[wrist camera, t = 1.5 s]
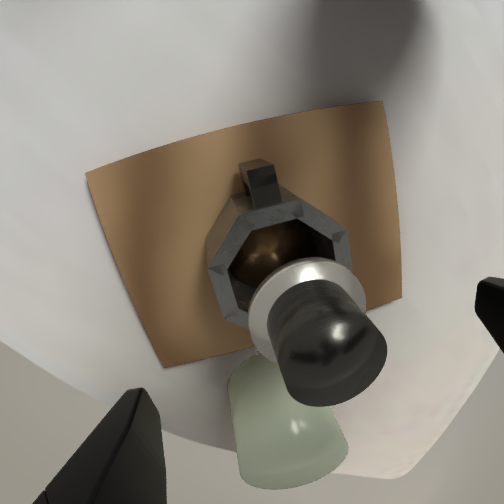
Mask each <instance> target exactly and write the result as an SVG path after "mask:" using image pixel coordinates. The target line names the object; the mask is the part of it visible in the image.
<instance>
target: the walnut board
mask: <svg viewBox="0 0 504 504" xmlns="http://www.w3.org/2000/svg"><path fill="white" fill-rule="evenodd" d="M259 158H260V159H263V160H265V161H268V162H270V163H272V164H274V167H275V171H276V176H277V180H278V184H279V185H281V186H283V187H284V188H286V189H287V190H289V191H291V192H292V193H294V194H295V195H297V196H298V197H300V198H302V199H303V200H305V201H306V202H308V203H309V204H311V205H313V206H314V207H316V208H317V209H319V210H320V211H322V212H323V213H325V214H326V215H327V216H329V217H330V218H332V219H333V220H335V221H336V222H338V223H339V224H340V225H342V226H343V227H345V228H346V229H347V230H348V238H349V246H350V254H351V263H352V272H353V275H354V276H355V277H356V278H357V279H358V280H359V282H360V283H361V285H362V287H363V289H364V293H365V297H366V311H367V310H370V309H373V308H376V307H378V306H381V305H384V304H387V303H389V302H392V301H395V300H397V299H400V298H402V273H401V246H400V229H399V215H398V204H397V194H396V184H395V176H394V168H393V160H392V153H391V147H390V140H389V134H388V128H387V123H386V117H385V112H384V107H383V102H382V101H375V102H366V103H358V104H350V105H343V106H336V107H329V108H323V109H317V110H311V111H305V112H299V113H294V114H289V115H283V116H278V117H273V118H269V119H264V120H259V121H255V122H250V123H246V124H241V125H237V126H233V127H229V128H225V129H221V130H217V131H213V132H209V133H206V134H202V135H198V136H195V137H191V138H188V139H184V140H181V141H177V142H174V143H171V144H167V145H164V146H161V147H158V148H154V149H151V150H148V151H145V152H142V153H139V154H136V155H133V156H130V157H127V158H124V159H122V160H119V161H116V162H113V163H110V164H108V165H105V166H102V167H100V168H97V169H94V170H92V171H89V172H87V173H85V175H86V179H87V182H88V185H89V188H90V191H91V195H92V198H93V201H94V204H95V207H96V210H97V213H98V216H99V218H100V221H101V224H102V227H103V230H104V233H105V235H106V238H107V241H108V243H109V246H110V249H111V251H112V254H113V256H114V259H115V262H116V264H117V267H118V269H119V272H120V274H121V276H122V279H123V281H124V284H125V286H126V288H127V291H128V293H129V295H130V298H131V300H132V302H133V305H134V307H135V309H136V311H137V314H138V316H139V318H140V320H141V322H142V324H143V327H144V329H145V331H146V333H147V335H148V337H149V339H150V341H151V343H152V345H153V347H154V349H155V351H156V353H157V355H158V357H159V359H160V361H161V363H162V365H163V367H164V368H167V367H172V366H176V365H181V364H185V363H190V362H194V361H198V360H203V359H207V358H211V357H215V356H219V355H223V354H227V353H231V352H235V351H238V350H242V349H246V348H250V347H253V346H255V345H254V343H253V341H252V338H251V334H250V330H248V329H246V328H244V327H241V326H239V325H237V324H234V323H232V322H230V321H228V320H225V319H224V318H223V315H222V312H221V309H220V306H219V303H218V300H217V297H216V294H215V290H214V287H213V284H212V281H211V278H210V275H209V272H208V269H207V249H206V236H207V234H208V233H209V231H210V229H211V227H212V226H213V224H214V222H215V221H216V219H217V217H218V215H219V214H220V212H221V210H222V209H223V207H224V205H225V204H226V202H227V200H228V199H229V197H230V196H231V195H234V194H238V193H242V192H245V191H244V187H243V183H242V179H241V175H240V171H239V167H238V164H239V163H243V162H247V161H251V160H255V159H259Z"/></svg>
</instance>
